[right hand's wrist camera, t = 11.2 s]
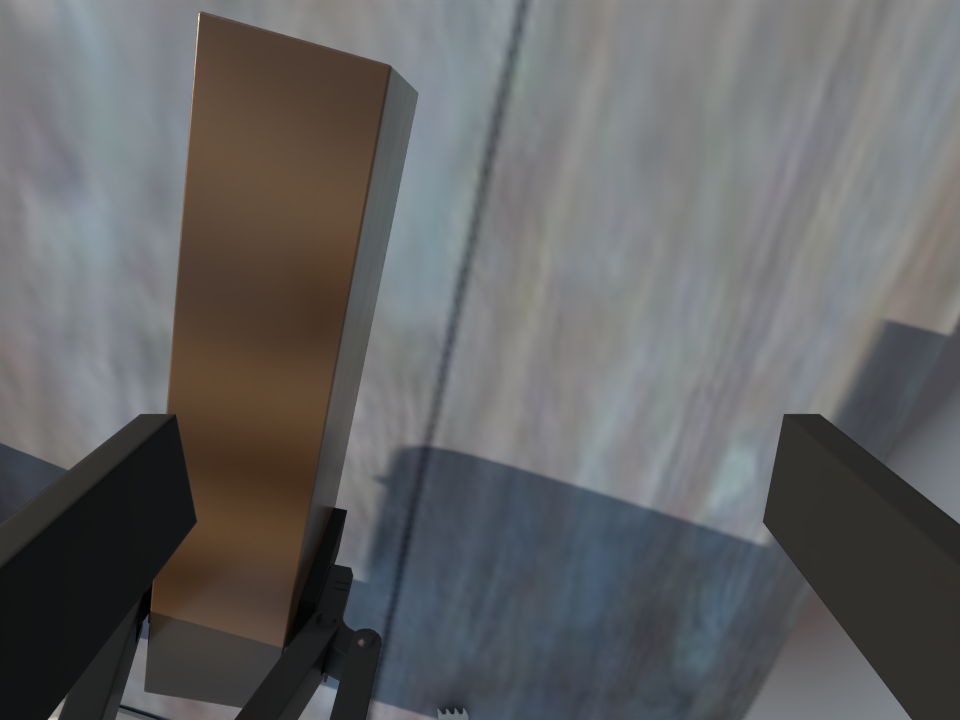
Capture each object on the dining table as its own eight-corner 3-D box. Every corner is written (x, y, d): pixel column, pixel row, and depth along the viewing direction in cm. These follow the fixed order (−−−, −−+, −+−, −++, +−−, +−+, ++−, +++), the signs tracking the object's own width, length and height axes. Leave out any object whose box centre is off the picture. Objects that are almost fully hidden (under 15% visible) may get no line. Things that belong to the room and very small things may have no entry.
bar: (293, 56, 24) (197, 10, 15) (419, 92, 24) (392, 65, 16) (228, 549, 32) (143, 692, 23) (322, 567, 32) (272, 713, 24)
